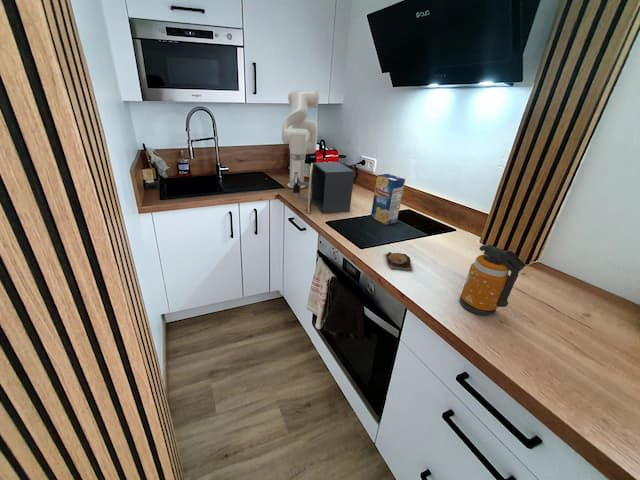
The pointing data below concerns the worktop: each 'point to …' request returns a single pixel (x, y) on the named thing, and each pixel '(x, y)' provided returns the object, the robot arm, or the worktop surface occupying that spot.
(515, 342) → the worktop surface
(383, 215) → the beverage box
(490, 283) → the canister
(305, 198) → the cupboard door
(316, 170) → the cupboard
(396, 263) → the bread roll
